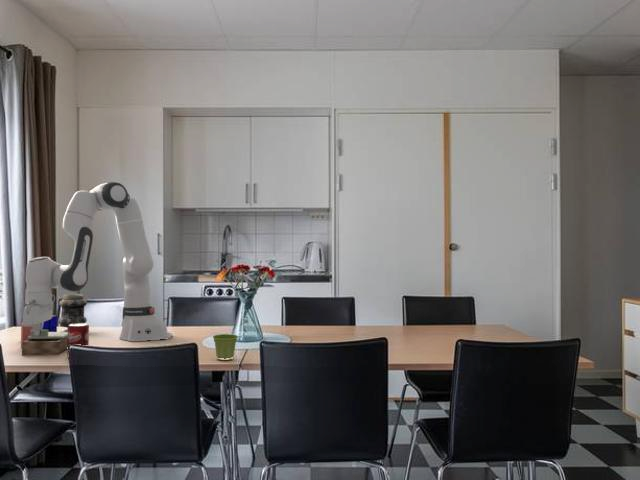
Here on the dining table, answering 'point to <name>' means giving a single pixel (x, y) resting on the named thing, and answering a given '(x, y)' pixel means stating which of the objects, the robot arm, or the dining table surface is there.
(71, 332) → the soda can
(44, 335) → the lid
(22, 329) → the key peg
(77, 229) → the robot arm
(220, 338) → the plant pot
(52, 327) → the puzzle cube
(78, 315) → the apothecary jar
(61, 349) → the brown wooden box
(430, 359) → the dining table surface
